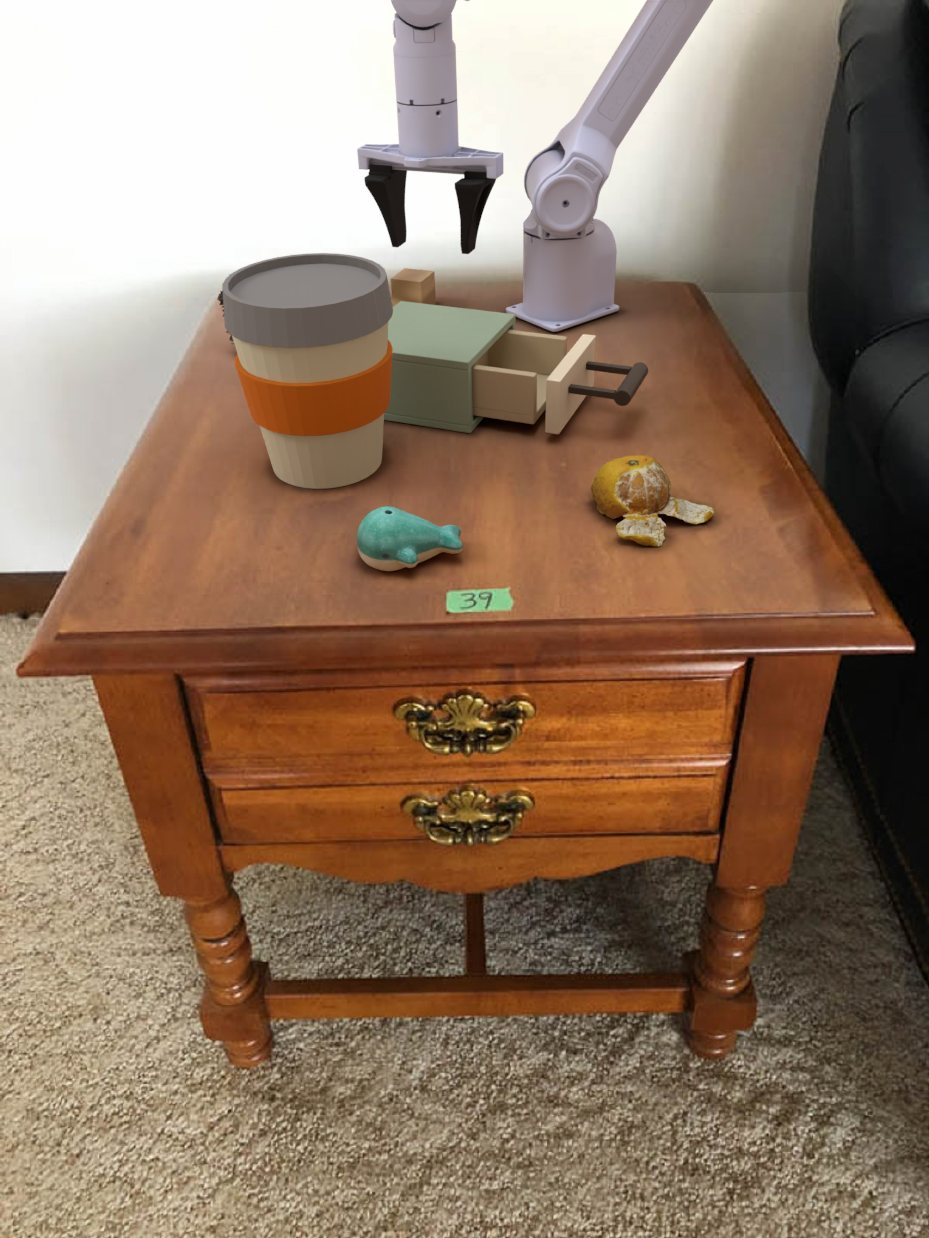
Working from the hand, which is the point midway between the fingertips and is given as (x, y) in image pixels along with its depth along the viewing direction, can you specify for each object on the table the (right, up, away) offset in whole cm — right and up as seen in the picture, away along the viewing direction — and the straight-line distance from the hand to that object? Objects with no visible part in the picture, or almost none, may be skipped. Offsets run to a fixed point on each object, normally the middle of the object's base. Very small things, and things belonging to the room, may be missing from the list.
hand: (433, 247), depth 104 cm
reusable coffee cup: (-8, -25, -20) cm, 33 cm away
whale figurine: (-1, -33, -32) cm, 46 cm away
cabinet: (+1, -18, -11) cm, 21 cm away
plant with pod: (-15, -8, -4) cm, 18 cm away
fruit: (+16, -30, -29) cm, 45 cm away
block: (-2, -4, +8) cm, 9 cm away
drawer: (+11, -19, -15) cm, 26 cm away
